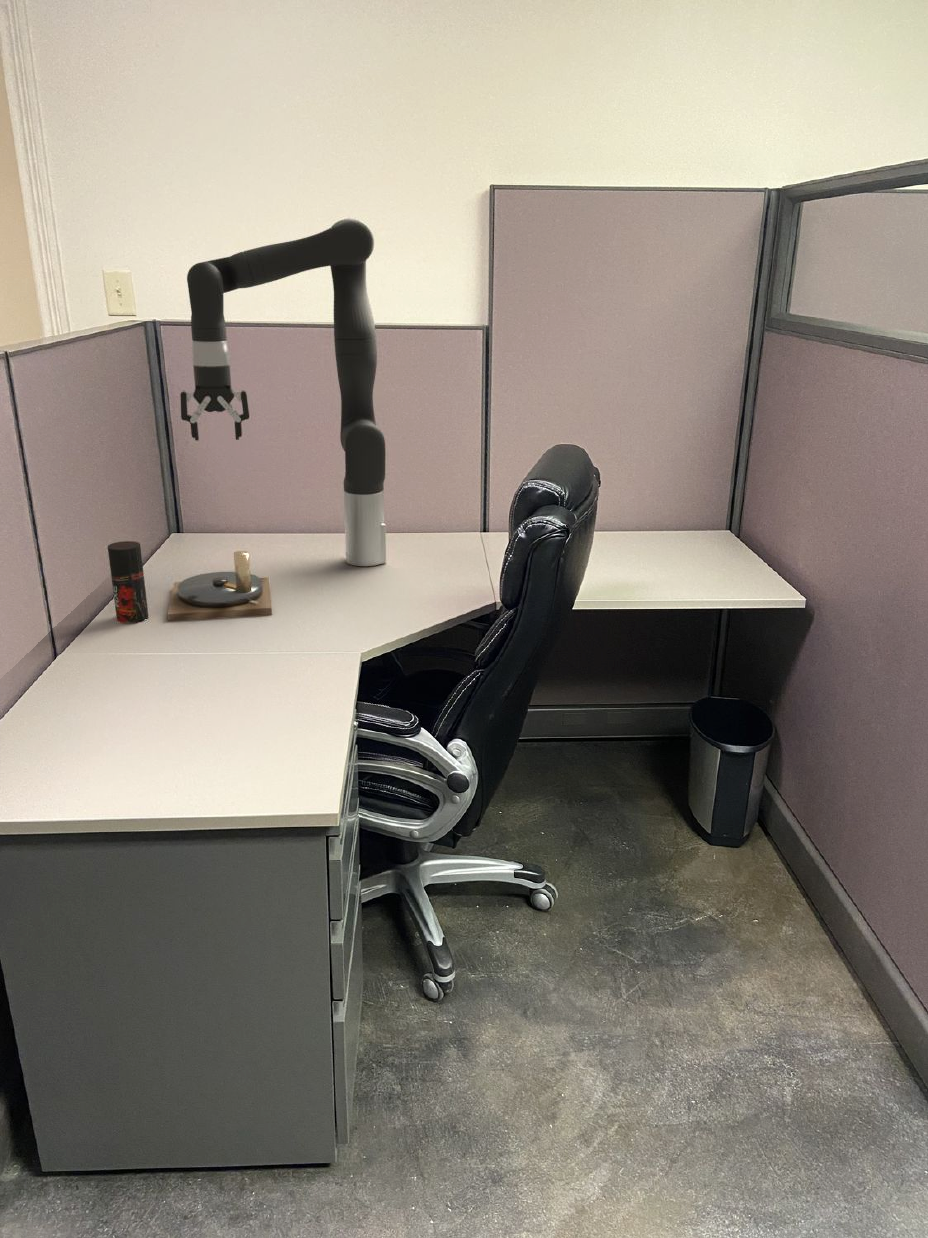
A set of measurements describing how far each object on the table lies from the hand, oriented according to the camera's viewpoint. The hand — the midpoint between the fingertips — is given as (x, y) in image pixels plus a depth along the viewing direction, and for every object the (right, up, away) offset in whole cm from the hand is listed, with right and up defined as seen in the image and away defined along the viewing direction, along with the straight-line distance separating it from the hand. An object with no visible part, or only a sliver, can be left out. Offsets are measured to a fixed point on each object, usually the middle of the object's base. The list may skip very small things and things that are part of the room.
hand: (217, 439), depth 200 cm
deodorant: (-12, -39, -19) cm, 45 cm away
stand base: (+3, -36, -9) cm, 37 cm away
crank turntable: (+3, -34, -9) cm, 35 cm away
